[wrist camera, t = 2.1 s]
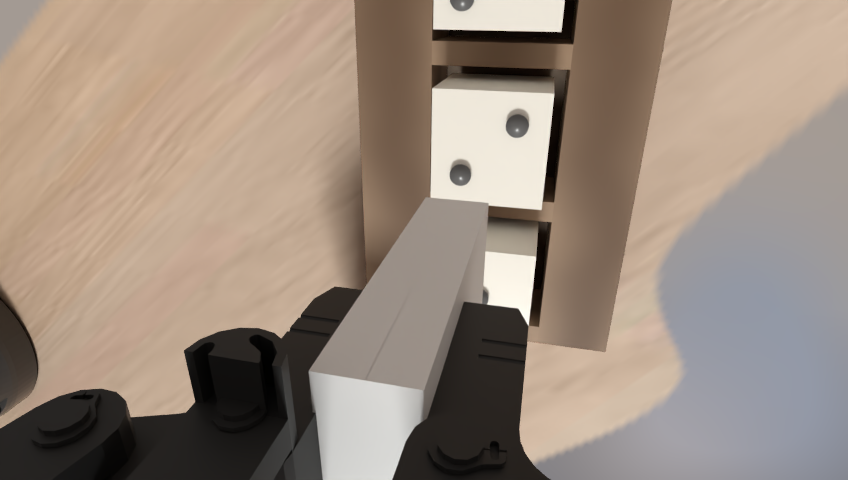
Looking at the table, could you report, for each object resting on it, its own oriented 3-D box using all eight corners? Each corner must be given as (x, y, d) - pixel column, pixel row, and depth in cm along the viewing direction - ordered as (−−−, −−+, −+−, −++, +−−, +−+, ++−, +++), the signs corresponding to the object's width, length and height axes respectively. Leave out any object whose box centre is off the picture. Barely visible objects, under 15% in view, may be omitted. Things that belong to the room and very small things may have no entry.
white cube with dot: (446, 284, 30) (427, 335, 26) (449, 207, 28) (428, 247, 24) (530, 294, 29) (526, 348, 25) (538, 215, 27) (536, 258, 23)
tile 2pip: (450, 168, 27) (429, 201, 23) (453, 73, 25) (431, 89, 21) (543, 175, 26) (541, 211, 22) (554, 77, 24) (554, 94, 20)
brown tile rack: (387, 285, 33) (368, 319, 30) (378, -129, 24) (348, -151, 20) (599, 311, 31) (605, 352, 27) (679, -141, 21) (704, -169, 18)
